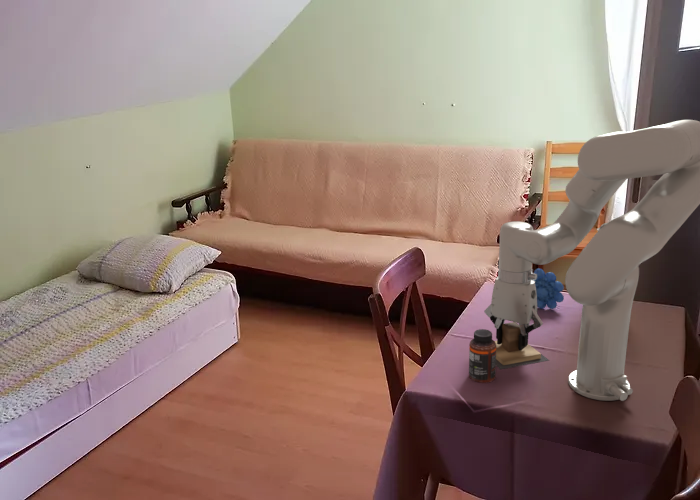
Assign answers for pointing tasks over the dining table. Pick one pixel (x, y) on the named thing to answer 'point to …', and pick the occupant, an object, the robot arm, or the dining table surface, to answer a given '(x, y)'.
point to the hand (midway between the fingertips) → (511, 344)
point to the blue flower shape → (547, 289)
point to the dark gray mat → (520, 363)
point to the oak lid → (513, 346)
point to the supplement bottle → (482, 357)
